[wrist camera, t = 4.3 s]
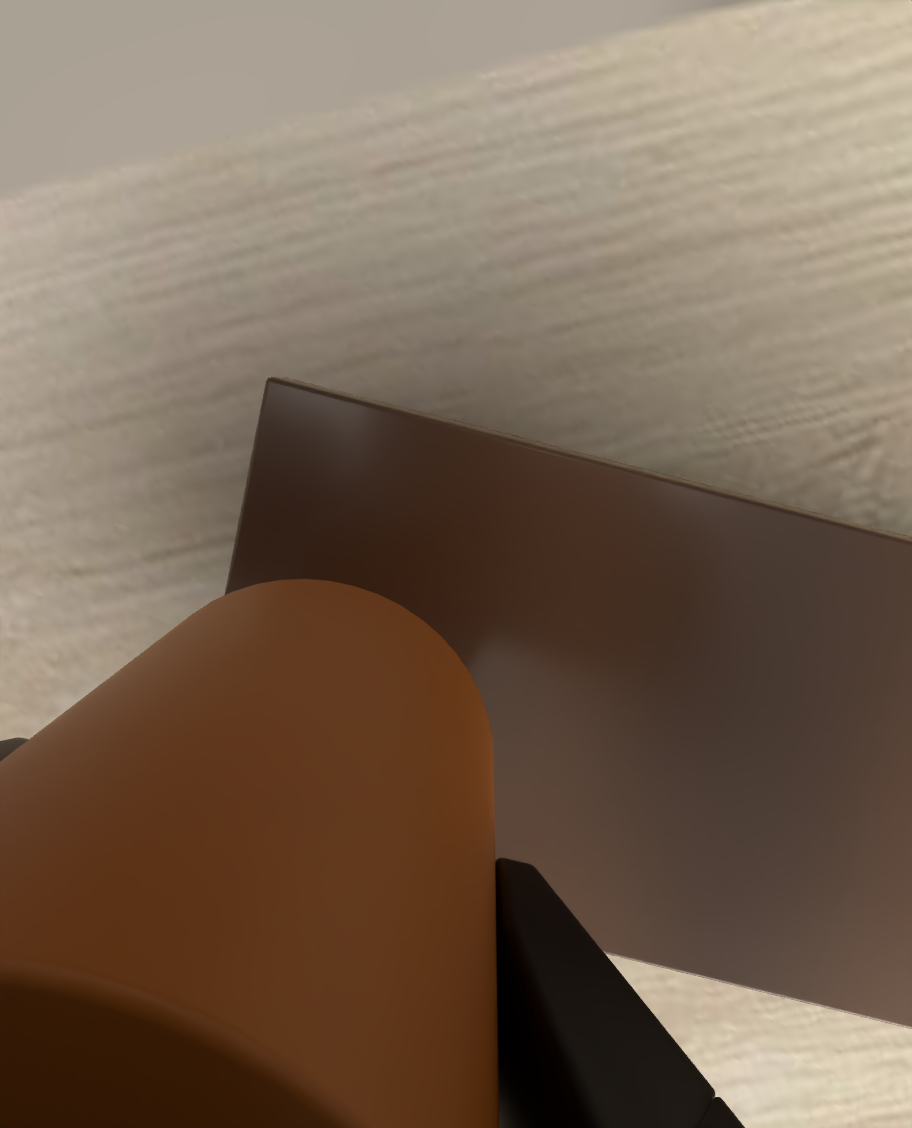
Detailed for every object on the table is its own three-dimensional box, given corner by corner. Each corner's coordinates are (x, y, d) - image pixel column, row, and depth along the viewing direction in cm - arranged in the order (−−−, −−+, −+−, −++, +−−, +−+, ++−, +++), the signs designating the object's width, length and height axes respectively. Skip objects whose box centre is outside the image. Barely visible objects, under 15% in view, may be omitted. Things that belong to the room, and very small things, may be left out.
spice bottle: (171, 928, 11) (-915, 2776, 3) (99, 598, 10) (-2088, 1781, 2) (512, 898, 11) (606, 2889, 2) (471, 557, 10) (347, 1731, 1)
